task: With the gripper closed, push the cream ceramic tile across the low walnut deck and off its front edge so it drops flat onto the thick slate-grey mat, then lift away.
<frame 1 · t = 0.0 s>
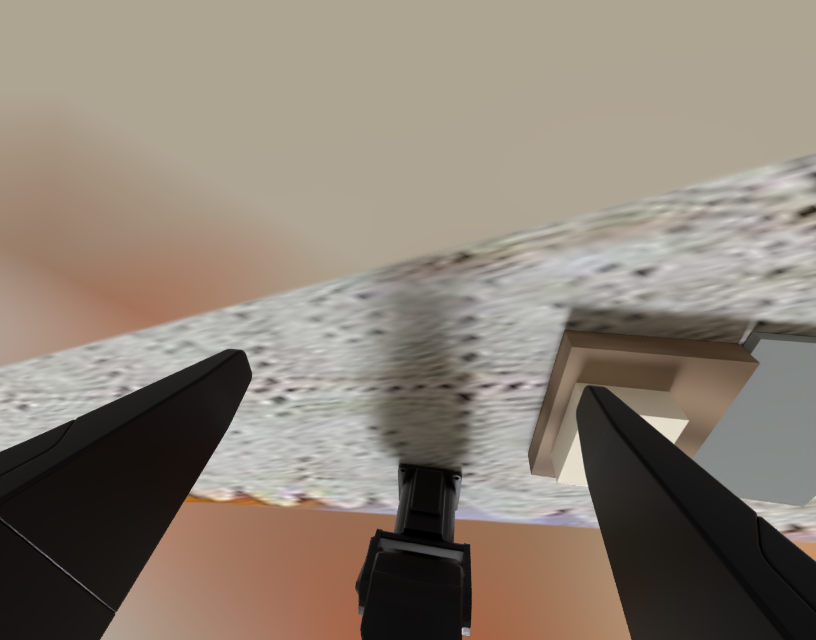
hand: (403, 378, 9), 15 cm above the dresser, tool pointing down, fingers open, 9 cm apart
mat: (776, 426, 25), on the dresser
tile: (604, 426, 25), point 2 cm above the dresser, touching deck
deck: (615, 408, 27), on the dresser
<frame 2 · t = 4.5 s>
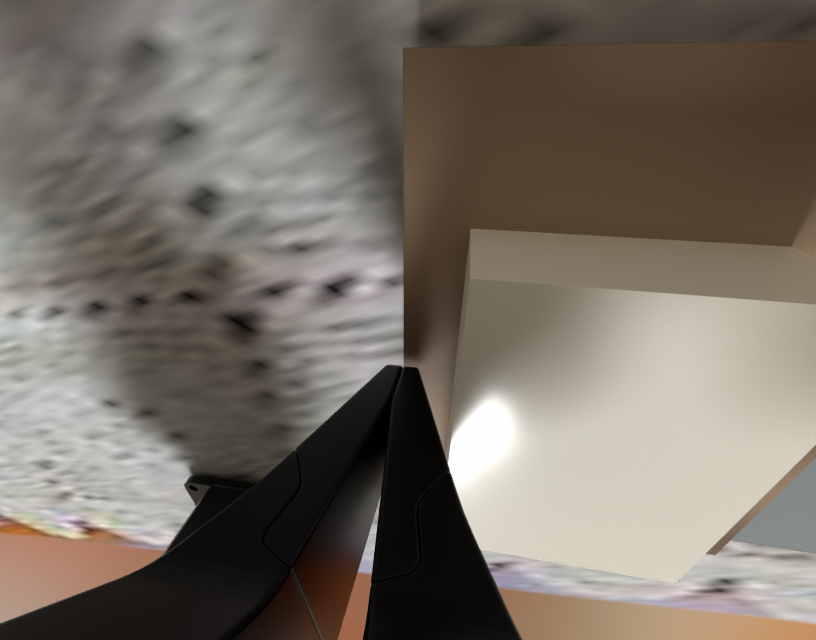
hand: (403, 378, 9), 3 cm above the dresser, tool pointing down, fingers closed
tile: (569, 385, 9), point 2 cm above the dresser, touching deck, gripper
deck: (590, 343, 10), on the dresser
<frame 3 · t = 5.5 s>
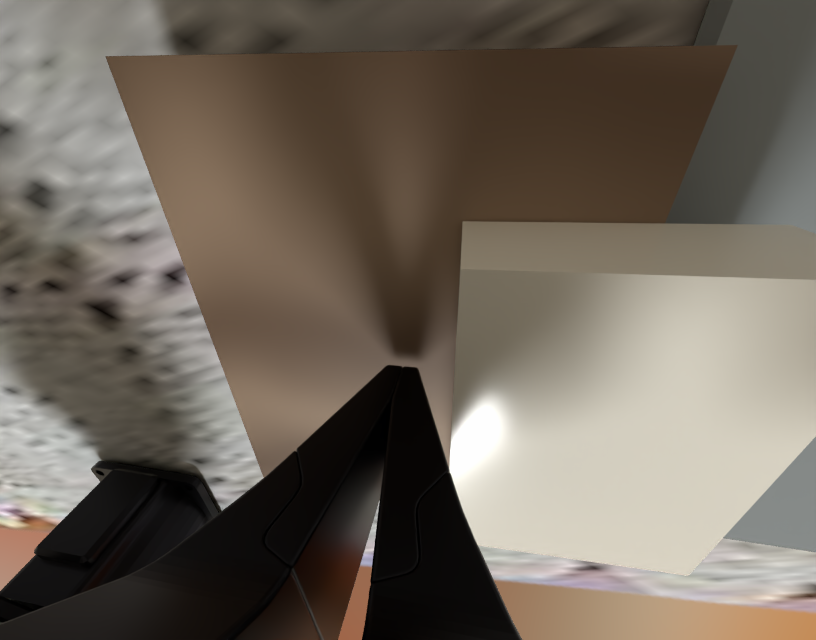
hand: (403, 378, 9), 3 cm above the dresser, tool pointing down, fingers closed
mat: (788, 361, 10), on the dresser
tile: (570, 376, 9), point 2 cm above the dresser, touching gripper
deck: (403, 327, 11), on the dresser
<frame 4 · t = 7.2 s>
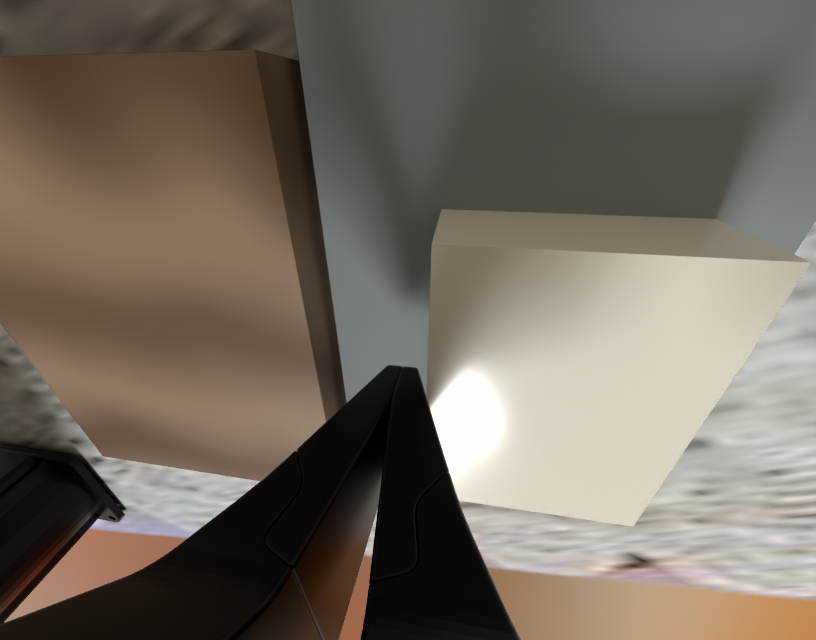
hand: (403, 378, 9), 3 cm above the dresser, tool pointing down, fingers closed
mat: (511, 335, 11), on the dresser
tile: (536, 351, 10), point 1 cm above the dresser, touching gripper, mat
deck: (191, 307, 12), on the dresser
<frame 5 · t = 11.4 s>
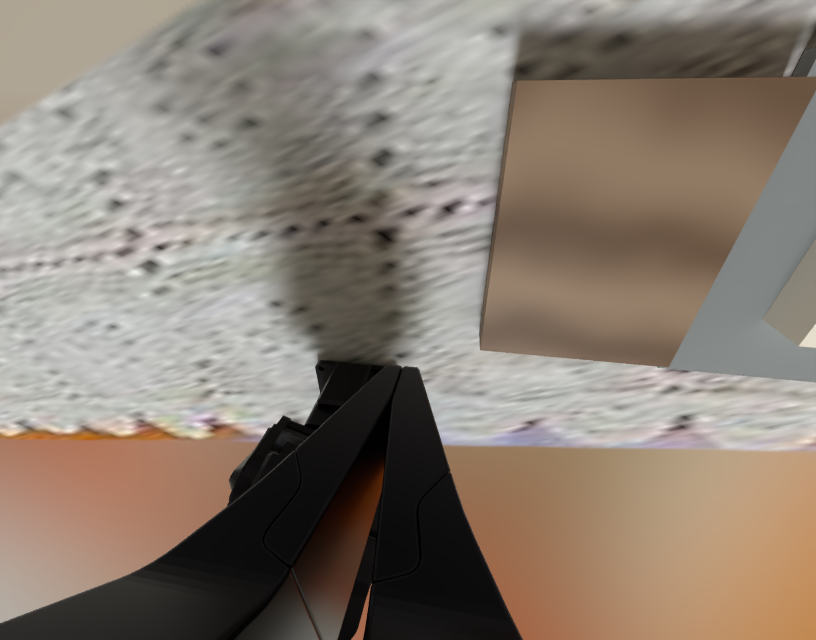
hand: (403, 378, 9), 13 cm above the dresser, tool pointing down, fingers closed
deck: (594, 236, 19), on the dresser
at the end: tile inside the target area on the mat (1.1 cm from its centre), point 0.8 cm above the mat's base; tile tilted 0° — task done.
